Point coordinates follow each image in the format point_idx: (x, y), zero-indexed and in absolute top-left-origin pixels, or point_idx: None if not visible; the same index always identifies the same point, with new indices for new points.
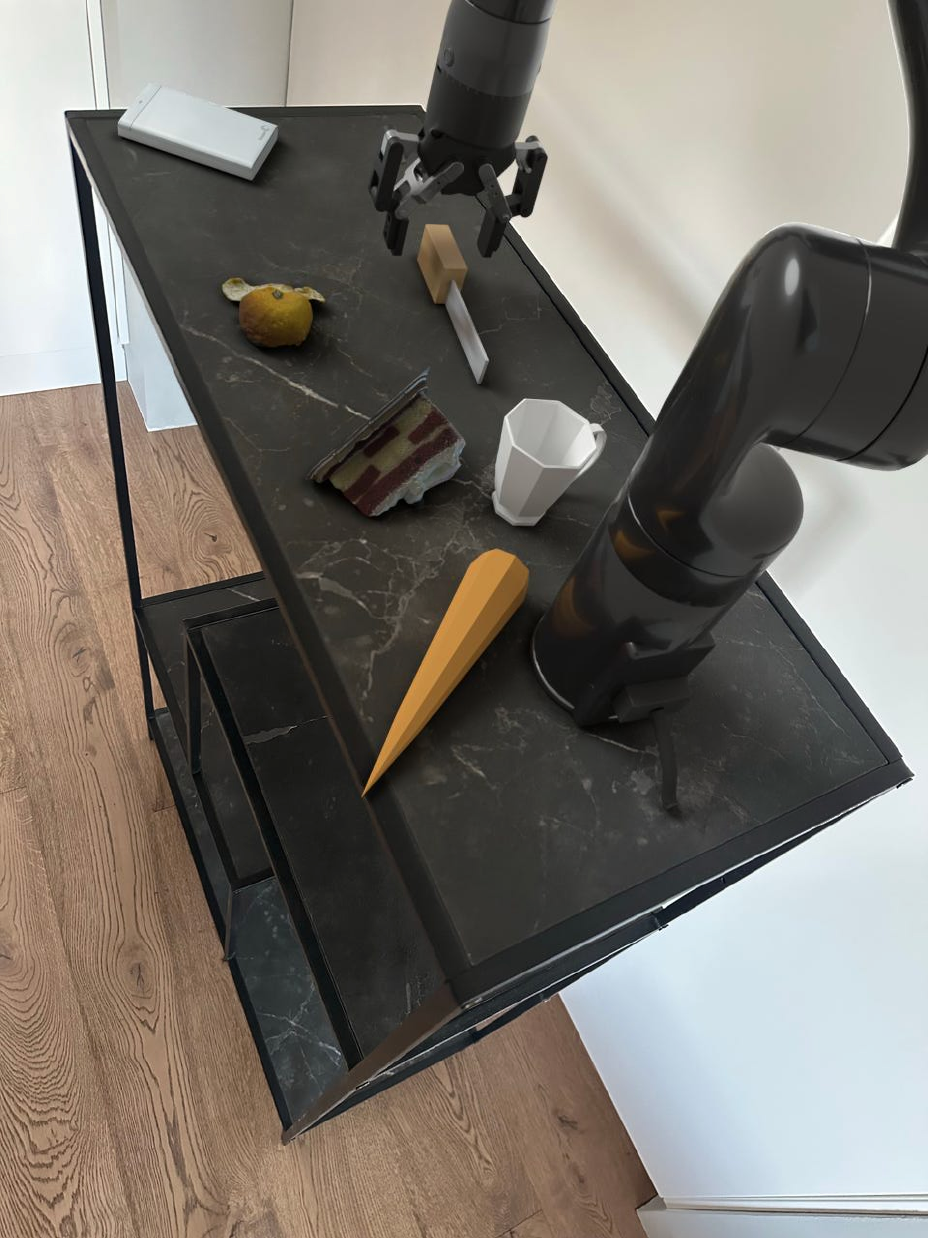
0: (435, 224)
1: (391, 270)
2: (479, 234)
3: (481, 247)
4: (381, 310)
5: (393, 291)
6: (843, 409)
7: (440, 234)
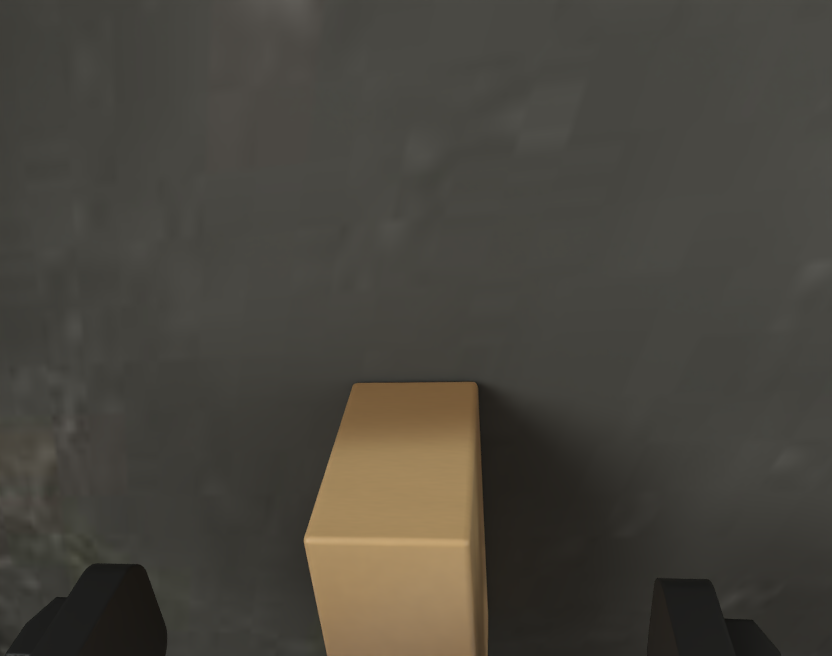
0: (373, 542)
1: (216, 447)
2: (672, 628)
3: (656, 650)
4: (167, 631)
5: (218, 554)
6: None
7: (388, 615)
